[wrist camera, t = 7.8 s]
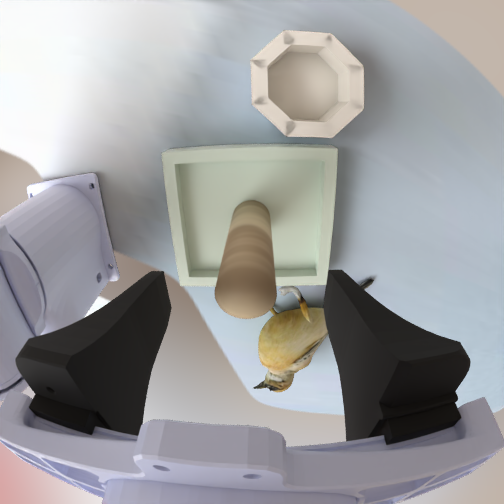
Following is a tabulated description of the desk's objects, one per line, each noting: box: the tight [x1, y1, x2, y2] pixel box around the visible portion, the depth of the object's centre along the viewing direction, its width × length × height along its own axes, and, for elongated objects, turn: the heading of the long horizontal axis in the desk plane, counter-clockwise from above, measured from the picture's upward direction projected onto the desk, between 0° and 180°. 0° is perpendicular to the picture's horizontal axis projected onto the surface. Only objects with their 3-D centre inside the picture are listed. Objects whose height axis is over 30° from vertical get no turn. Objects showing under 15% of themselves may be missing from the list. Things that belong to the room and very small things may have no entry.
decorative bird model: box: [254, 279, 374, 392], centre depth 24 cm, size 4×13×10 cm
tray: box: [161, 144, 338, 286], centre depth 20 cm, size 10×11×2 cm
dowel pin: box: [215, 200, 277, 319], centre depth 16 cm, size 3×3×9 cm
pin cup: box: [250, 30, 364, 138], centre depth 15 cm, size 6×6×3 cm
